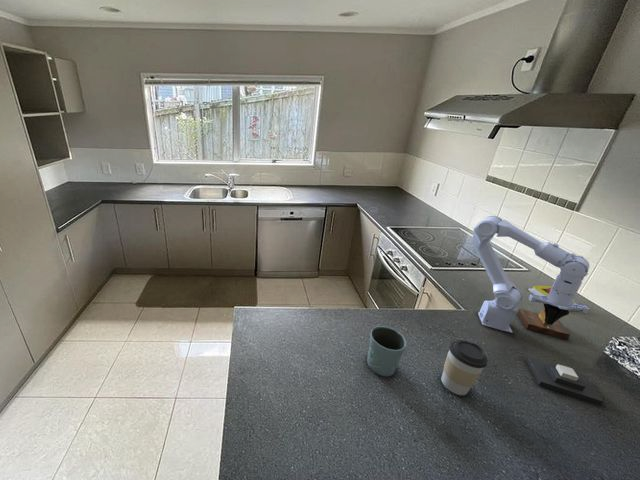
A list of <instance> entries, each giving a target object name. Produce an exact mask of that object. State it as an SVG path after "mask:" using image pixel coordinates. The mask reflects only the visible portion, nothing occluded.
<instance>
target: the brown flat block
mask: <svg viewBox="0 0 640 480" xmlns="http://www.w3.org/2000/svg"><path fill="white" fill-rule="evenodd" d="M517 315H518V317H519V318H520V320H521V322H522V325H523V326H524V327H525V329H526V330H530V331H532V332H537V333H540V334H544V335H548V336H551V337H555V338H559V339H563V340H568V339H569V337H570V336H571V334H570V333H569V331H568V330H567V328H566V327H565V326H564V325H563V323H562V322H561V321H560V319H558V320H557V321H556V322H554V323H553V324H552V325H550V324H549V325H545V324H543V322H542V321H541V319H540V318H539V315H540V313H539V312H534V311H530V310H527V309H523V308H518V310H517Z"/></svg>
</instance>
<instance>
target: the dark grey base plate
mask: <svg viewBox="0 0 640 480" xmlns="http://www.w3.org/2000/svg"><path fill="white" fill-rule="evenodd" d="M526 363H527V365H528V367H529V369H530V372H531V373H532V375H533V377H534V379H535V381H536V383H537V385H538V386H540V387H542V388H543V387H544V388H545V389H549V390H553V391H556V392H558V393H561V394H565V395H568V396H570V397H573V398H576V399H580V400H583V401H586V402H589V403H592V404H596V405H598V406H602V404H603V403H604V400H603V398H602V396H600V394H599V393H598V391H597V390H596V389H595V387H594V386H593V384H592V383H591V381H590V380H589V379H588V377H587V376H586V374H585V373H581V372H578V371H576V370H575V369H573V370H574V371H575V373H576V374H577V376H578V377H579V378H578V379H577V381H574V380H570V379H567V378H564V377H561V376H560V375H559V373H558V372H557V370H556V369H555V367H556V366H557V364H556V363H553V362H549V361H547V362H544V361H542V360H538V359H534V358H532V357H528V358H527V359H526Z"/></svg>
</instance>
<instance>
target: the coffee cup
mask: <svg viewBox="0 0 640 480" xmlns="http://www.w3.org/2000/svg"><path fill="white" fill-rule="evenodd" d="M448 348H449V349H448V351H447V355H446V358H445V362H444V365H443V371H442V373H441V374H442V375H441V379H440V380H441V382H442V385H443V386H444V387H445V388H446V389H447V390H448V391H449V392H451V393H453V394H455V395H458V396H466V395H467V394H468V393H469V391H470V389H471V388H472V387H473V386H474V385H475V383H476V382H477V380H478V379H479V377H480V376H481V375H482V373H483V371H484V369H485V368H486V367H487V365H488V362H489V361H488V357H487V356H486V354H485V353H484V351H483V348H482V347H481V346H479V345H478V344H476V343H475V342H474V343H473V342H470V341H467V340H465V339H464V340H461V339H460V340H458V339H457V340H454V341H451V343H450V344H449V346H448Z"/></svg>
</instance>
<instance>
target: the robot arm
mask: <svg viewBox="0 0 640 480" xmlns="http://www.w3.org/2000/svg"><path fill="white" fill-rule="evenodd" d="M496 234H497V235H496ZM495 235H496V237H497V238H503V237H504V238H506V237H507V238H510V239H512V240H514V241H516V242H518V243H520V244H523V246H526V247H528V248H529V249H532V250H533V251H534V255H535V256H536V257H538V258H540V259H542V260H543V261H546V262H547V263H549V264H550V265H552V266H554V267H555V268H558V269H560V272H559V274H557V275H556V277H555V279H554V282H553V284H552V286H551V287H552V288H551V290H550V292H549V294H548V296H542V295H535V294H533V293H530V294H529V296H528V300H529V302H530V303H539V304H543V308H544V310H545V322H546V323H547V324H550V325H552V324H553V323H554V322H556V321H557V320H558V319H559V320H560V319H561V318H563V317H565V316H568V315H569V314H570V311H568V309H572V310H577V311H576V312H581V313H583V314H588V312H589V310H590V308H589V307H588V306H587V305H585V304H581V303H578V302H575V303H574V302H573V300H575V297H576V296H577V294H578V292H579V290H580V287H581V286H582V284H583V281H584V279H585V277H587V276H588V274H589V270H590V261H588V260H587V259H586V258H585V257H584V256H581V255H577V254H576V253H574V252H573V253H571V252H569V251H567V250H565V249H563V248H561V247H560V244H558V243H556V242H554V243H552V242H550V241H541V240H539V239H538V238H535V237H534V236H532V235H530V234H529V233H527V232H525V231H524V230H522V229H520V228H519V227H517V226H516V225H514V224H513V223H511V222H509V221H508V220H505V219H502V218H501V217H499V216H497V215H490V216H486V217H485V218H484V219H483V220H481V221H479V222H478V223H477V224H476V225H475V226H474V228H473V234H472V239H471V244H472V246H473V248H474V251H475V252H476V254H477V256H478V258H479V260H480V262H481V264H482V266H483V268H484V270H485V272H486V274H487V276H488V278H489V280H490V282H491V284H492V292H493V295H494V299H493V300H484V301H483V303H482V305H481V307H480V310H479V312H477V314H478V318H479V320H480V322H481V325H482V326H485V327H489V328H492V329H496V330H500V331H503V332H507V333H509V334H513V329H512V328H511V326H510V325H511V323H512V322H513V320H514V317H515V316H516V314H517V313H518V311H519V308H518V304H519V303H520V301H521V300H522V299H523V293H522V291H521V290H520V289H519V288H518V287H516V286H515V283H514V282H512V281H511V280H510V279H509V277H508V275H507V273H506V271H505V269H504V268H503V265H502V264H501V262H500V260H499V258H498V255H497V254H496V252H495V250H494V248H493V246H492V245H491V241H492V240H493V238H494V236H495Z"/></svg>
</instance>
